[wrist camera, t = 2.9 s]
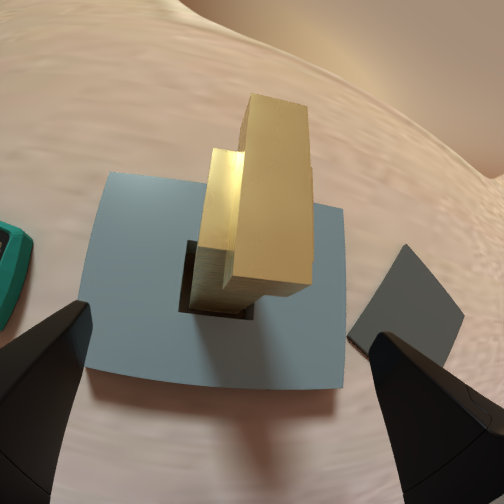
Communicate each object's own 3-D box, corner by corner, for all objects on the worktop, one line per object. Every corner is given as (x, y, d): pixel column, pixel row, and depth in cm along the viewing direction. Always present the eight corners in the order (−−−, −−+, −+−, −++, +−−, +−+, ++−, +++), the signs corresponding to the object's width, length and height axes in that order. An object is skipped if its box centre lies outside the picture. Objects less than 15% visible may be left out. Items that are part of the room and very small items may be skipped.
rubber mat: (419, 405, 19) (422, 406, 19) (346, 336, 20) (349, 335, 20) (461, 316, 23) (464, 315, 23) (403, 245, 24) (406, 243, 23)
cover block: (325, 384, 19) (342, 388, 16) (83, 361, 16) (70, 363, 13) (327, 222, 22) (342, 209, 20) (116, 190, 20) (109, 171, 17)
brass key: (234, 329, 18) (341, 288, 6) (187, 324, 18) (195, 270, 5) (240, 254, 20) (330, 113, 8) (196, 248, 20) (225, 88, 7)
